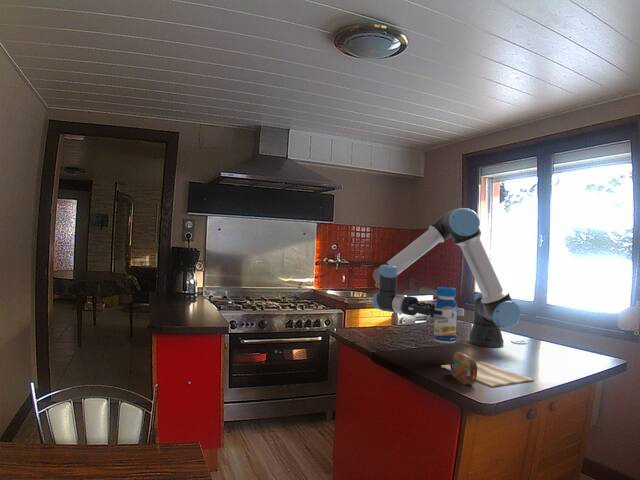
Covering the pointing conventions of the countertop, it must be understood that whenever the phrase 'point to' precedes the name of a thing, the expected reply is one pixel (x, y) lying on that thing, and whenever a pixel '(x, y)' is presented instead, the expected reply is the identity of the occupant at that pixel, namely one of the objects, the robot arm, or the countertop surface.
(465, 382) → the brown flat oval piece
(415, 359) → the countertop surface
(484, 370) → the beige flat square
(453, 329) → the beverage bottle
